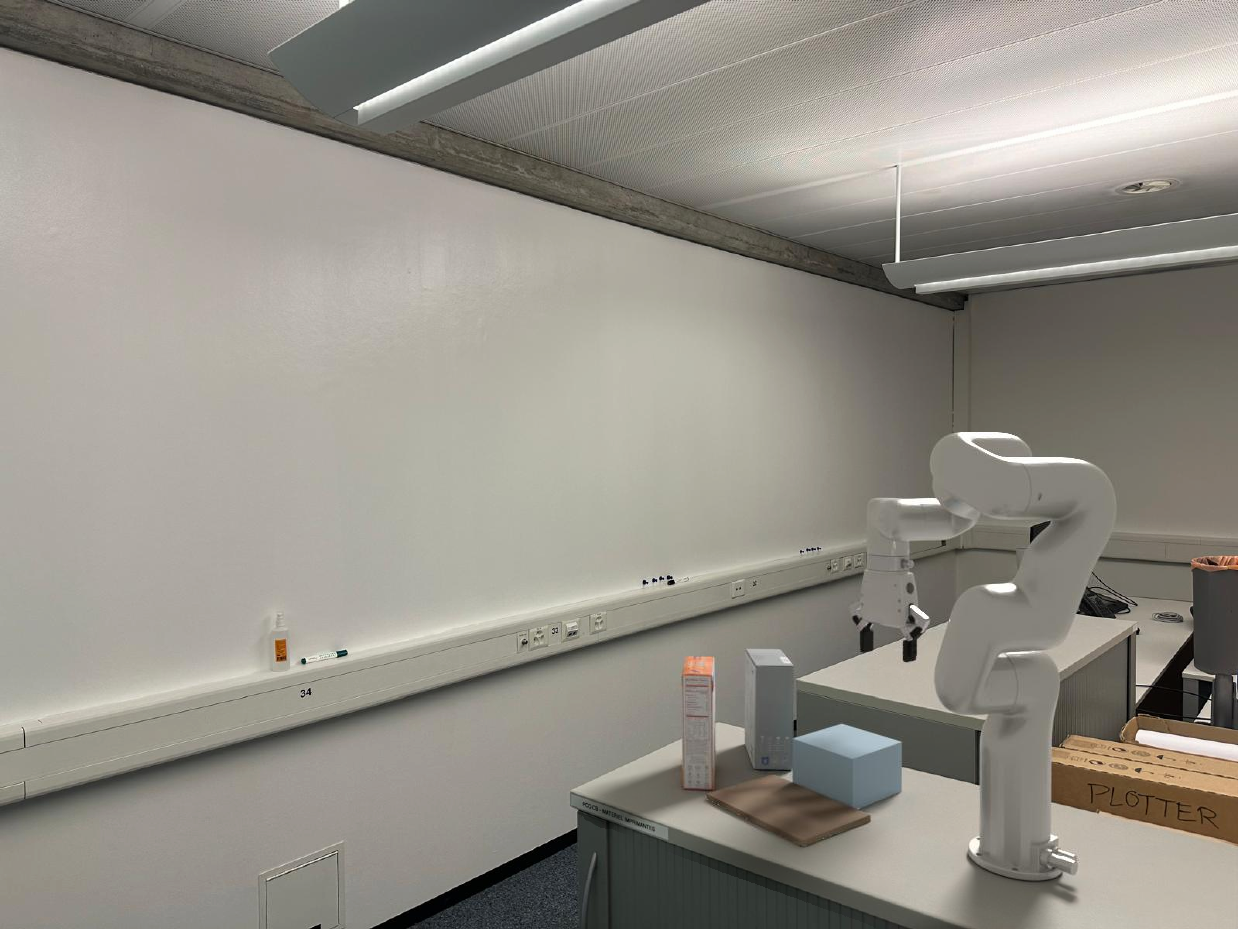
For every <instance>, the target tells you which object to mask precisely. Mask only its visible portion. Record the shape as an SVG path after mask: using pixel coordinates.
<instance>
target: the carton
mask: <svg viewBox="0 0 1238 929" xmlns="http://www.w3.org/2000/svg"><path fill="white" fill-rule="evenodd" d="M902 743H903V742H902V741H900V740H897V739H894V738H890V737H887V736H884V735H880V734H878V733H874V732H870V731H867V730H864V729H860V728H857V727H854V726H850V725H847V724H844V723H839V724H837V725H833V726H831V727H826V728H824V729H819V730H817V731H812V732H810V733H806V734H804V735H799V736H797V737H793V769H792V782H793V783H795V784H798V785H800V786H802V787H805V788H807V789H809V790H812V791H814V792H817V793H819V794H821V795H824V796H826V797H829V798H831V799H833V800H836V801H838V802H841V803H843V804H845V805H848V806H850V807H853V808H855V809H857V810H859V809H858V808H860V809H862V808H865V807H867V806H869V805H868V804H870V805H872V804H874V802H875V803H877V802H879V801H882V800H883V799H886V797H887V798H889V797H892V796H894V795H896V794H899V793H901V792H903V790H902V788H903V786H902V783H903V781H902V780H903V778H902V777H903V775H902V774H903V772H902V769H903V762H902V761H903V760H902V759H903V748H902V747H903V744H902ZM893 794H894V795H893ZM876 801H877V802H876ZM866 805H867V806H866Z"/></svg>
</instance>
